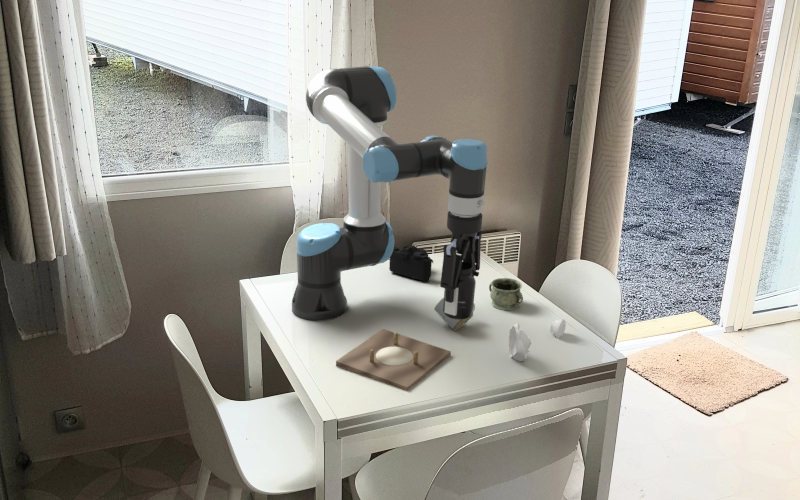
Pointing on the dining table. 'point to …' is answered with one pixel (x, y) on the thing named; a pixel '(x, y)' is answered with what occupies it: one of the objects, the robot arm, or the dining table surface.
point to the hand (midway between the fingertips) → (458, 307)
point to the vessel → (506, 293)
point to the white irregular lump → (558, 328)
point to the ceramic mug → (451, 322)
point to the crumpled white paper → (518, 343)
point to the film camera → (411, 262)
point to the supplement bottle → (464, 293)
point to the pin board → (393, 359)
